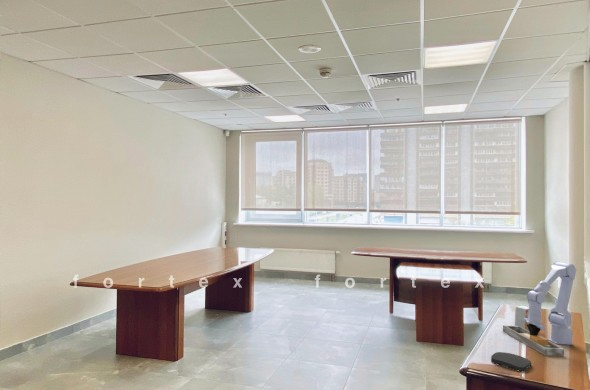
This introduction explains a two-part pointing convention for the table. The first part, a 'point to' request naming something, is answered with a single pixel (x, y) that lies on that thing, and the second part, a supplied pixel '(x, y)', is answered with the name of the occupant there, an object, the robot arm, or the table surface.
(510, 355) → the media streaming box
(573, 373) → the table surface
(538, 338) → the orange block
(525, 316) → the small box
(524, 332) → the trap lane
